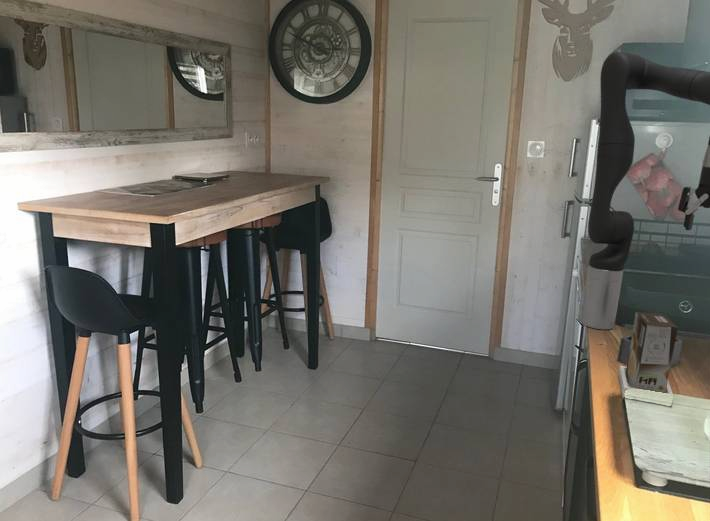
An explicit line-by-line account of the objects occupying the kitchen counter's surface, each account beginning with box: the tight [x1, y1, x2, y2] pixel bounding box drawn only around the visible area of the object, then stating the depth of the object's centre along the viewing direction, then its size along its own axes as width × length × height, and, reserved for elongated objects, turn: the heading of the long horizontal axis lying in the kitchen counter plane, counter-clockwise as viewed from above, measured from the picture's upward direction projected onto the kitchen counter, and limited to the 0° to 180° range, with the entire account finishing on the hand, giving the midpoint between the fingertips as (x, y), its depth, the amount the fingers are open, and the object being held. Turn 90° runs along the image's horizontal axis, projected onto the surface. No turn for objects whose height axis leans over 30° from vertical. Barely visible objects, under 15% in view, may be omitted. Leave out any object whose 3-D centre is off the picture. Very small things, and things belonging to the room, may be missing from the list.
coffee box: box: [625, 311, 679, 393], centre depth 132 cm, size 9×6×16 cm
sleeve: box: [616, 333, 685, 369], centre depth 149 cm, size 10×13×6 cm
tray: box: [618, 365, 674, 399], centre depth 134 cm, size 13×10×2 cm
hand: (706, 233), depth 147 cm, fingers open, 8 cm apart
